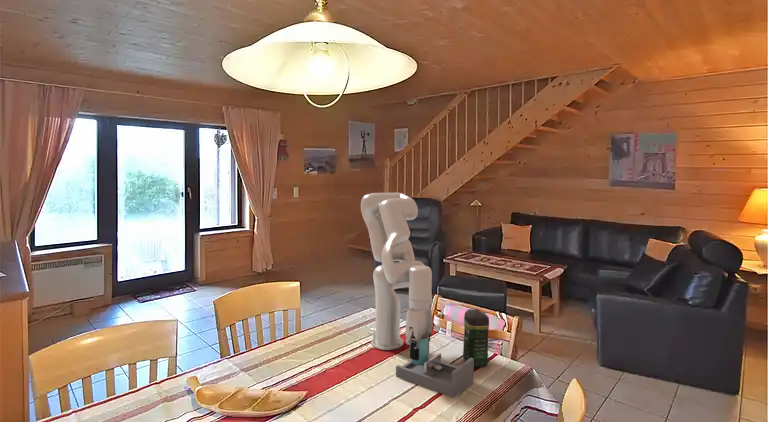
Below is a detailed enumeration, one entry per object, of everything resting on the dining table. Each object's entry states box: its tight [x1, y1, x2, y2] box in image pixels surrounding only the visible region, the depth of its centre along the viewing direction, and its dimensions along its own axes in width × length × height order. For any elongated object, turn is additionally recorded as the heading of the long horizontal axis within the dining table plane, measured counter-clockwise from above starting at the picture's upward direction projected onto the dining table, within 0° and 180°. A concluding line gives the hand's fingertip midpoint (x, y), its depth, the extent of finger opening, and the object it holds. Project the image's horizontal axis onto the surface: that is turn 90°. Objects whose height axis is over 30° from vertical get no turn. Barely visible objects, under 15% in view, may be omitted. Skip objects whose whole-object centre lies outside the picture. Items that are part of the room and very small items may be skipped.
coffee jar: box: [462, 308, 490, 368], centre depth 156 cm, size 10×8×19 cm
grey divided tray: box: [395, 356, 475, 399], centre depth 144 cm, size 22×12×8 cm, turn 53°
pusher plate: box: [424, 352, 443, 377], centre depth 144 cm, size 4×9×6 cm, turn 143°
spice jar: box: [411, 332, 430, 365], centre depth 147 cm, size 6×6×10 cm
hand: (419, 355), depth 147 cm, fingers closed on spice jar, 5 cm apart
